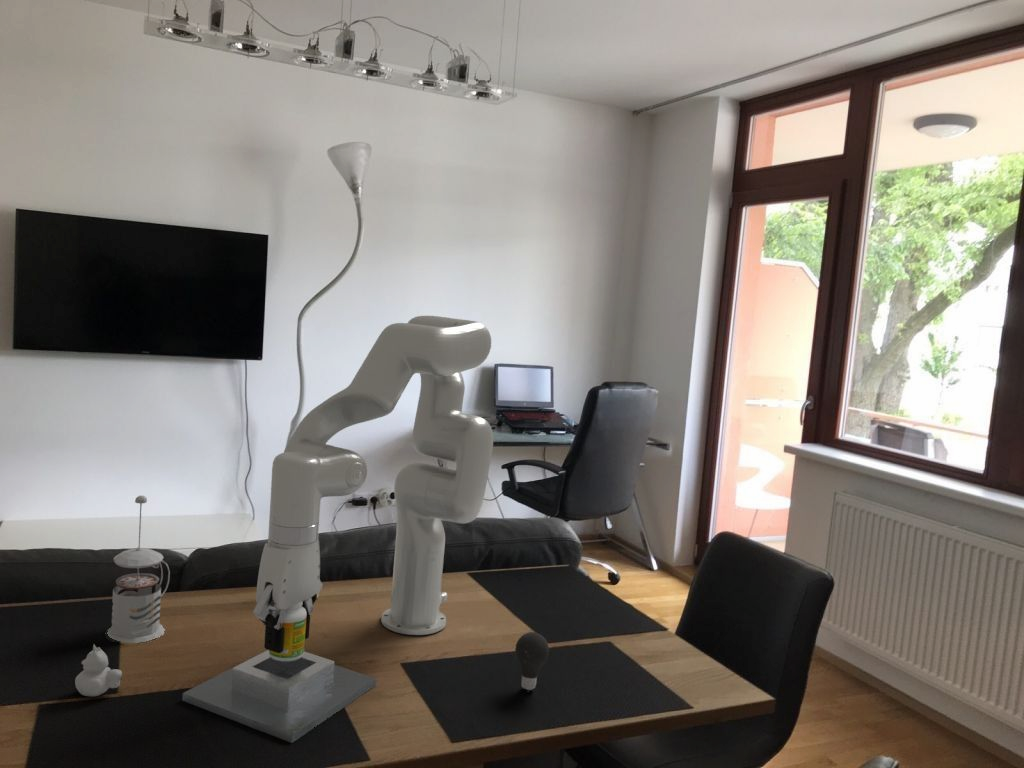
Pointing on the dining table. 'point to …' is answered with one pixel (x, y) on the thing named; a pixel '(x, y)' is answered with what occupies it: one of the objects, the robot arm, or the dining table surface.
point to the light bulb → (531, 657)
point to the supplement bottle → (292, 634)
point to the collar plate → (273, 714)
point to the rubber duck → (97, 674)
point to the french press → (137, 623)
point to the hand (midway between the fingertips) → (286, 642)
